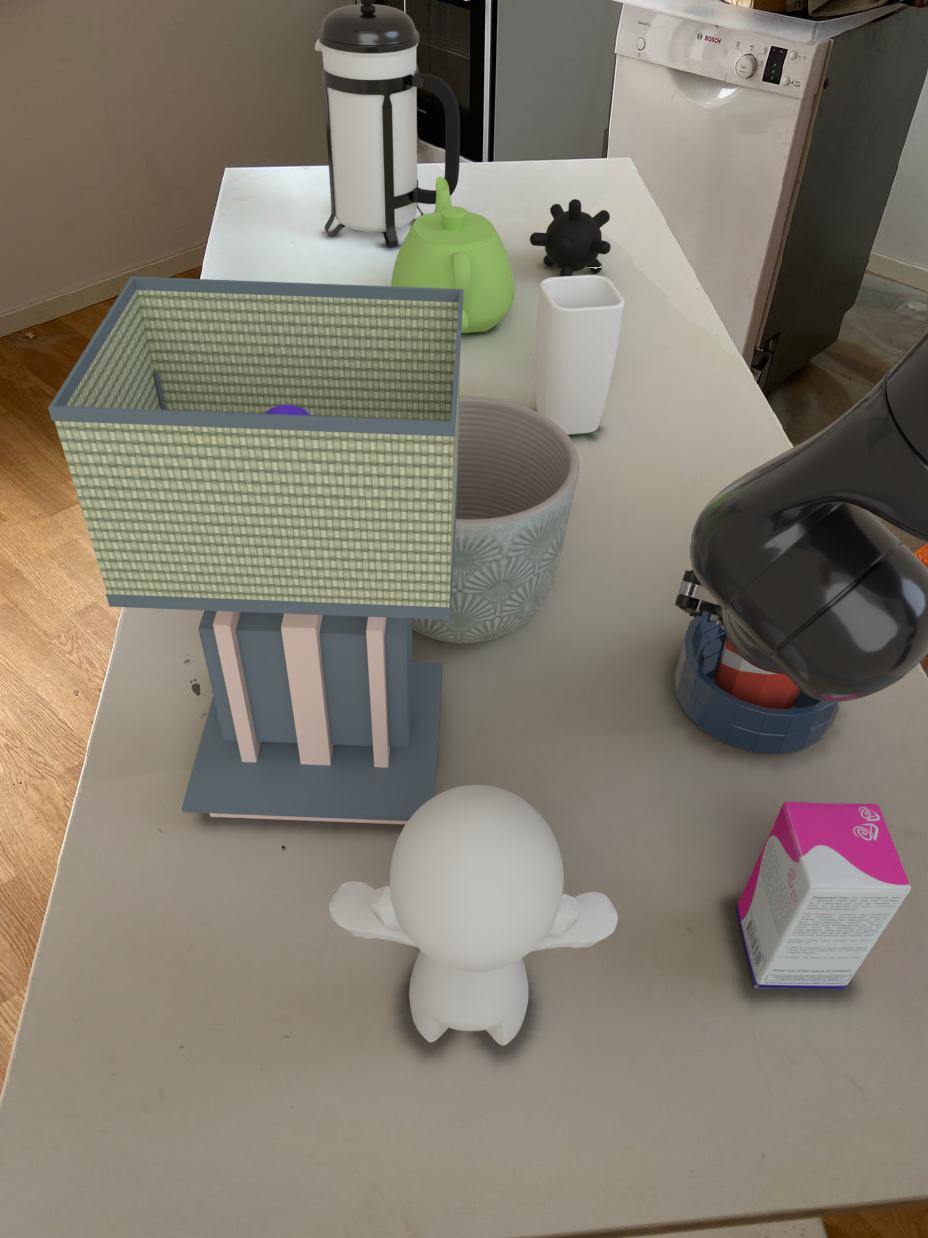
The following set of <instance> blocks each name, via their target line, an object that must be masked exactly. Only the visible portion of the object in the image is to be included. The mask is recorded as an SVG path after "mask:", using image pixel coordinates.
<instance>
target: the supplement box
mask: <svg viewBox="0 0 928 1238" xmlns="http://www.w3.org/2000/svg"><path fill="white" fill-rule="evenodd" d="M911 890H912V886H911V883H910V882H909V879H908V875H907V874H906V872H905V869H904V866H903V863H902V861H901V859H900V856H899V854H898V851H897V849H896V846H895V844H894V841H893V839H892V837H891V833H890V830H889V828H888V826H887V823H886V820H885V818H884V815H883V813H882V810H881V808H880V805H879V804H878V803H877V804H876V803H834V802H833V803H827V802H806V801H805V802H804V801H803V802H802V801H784V802H783V803H782V806H781V807H780V810H779V812H778V814H777V817H776V819H775V821H774V823H773V825H772V828H771V829H770V831H769V834H768V836H767V838H766V840H765V843H764V844H763V847H762V850H761V852H760V854H759V855H758V858H757V860H756V862H755V865H754V866H753V869H752V871H751V873H750V876H749V877H748V880H747V883H746V884H745V886H744V889H743V891H742V893H741V895H740V898H739V899H738V901H737V904H736V905H735V912H736V915H737V920H738V924H739V925H738V926H739V929H740V934H741V938H742V942H743V947H744V951H745V954H746V959H747V963H748V966H749V967H748V968H749V971H750V975H751V980H752V984H753V988H754V989H767V990H771V989H772V990H773V989H775V990H776V989H777V990H778V989H785V990H786V989H787V990H788V989H791V990H793V989H794V990H795V989H797V990H798V989H800V990H844V989H846V988H847V986H848V985H849V983H851V980H852V979H853V978H854V976H855V974H856V973H857V971H858V970H859V968H860V967H861V965H862V964H863V963H864V961H865V960H866V958H867V956H868V955H869V954H870V952H871V950H872V949H873V947H874V946H875V944H876V943H877V941H878V939H879V938H880V937H881V936H882V934H883V932H884V931H885V929H886V928H887V926H888V925H889V923H890V921H892V919H893V917H894V915H895V914H896V913H897V911H898V909H900V907H901V905H902V903H903V902H904V900H905V899H906V898H907V896H908V895H909V893H910V892H911Z"/></svg>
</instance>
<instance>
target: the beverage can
mask: <svg viewBox="0 0 928 1238" xmlns="http://www.w3.org/2000/svg"><path fill="white" fill-rule="evenodd" d="M715 684H716V685H717V686H718V687H719V688H720V689H722V690H724V691H726V692H728V693H729V694H731V695H733V696H735V697H736V698H738V699H740V700H742V701H745V702H749V703H752V704H755V705H758V706H762V707H765V708H777V709H790V708H791V707H793V706H794V705H795V703H796V700H797V698H798V695H799V693H800V689H799V688H798V687H797V686H796V685H795V684H794V683H793V682H792V681H791V680H790V679H789V677H788V676H787V675H786V674H778V673H772V672H768V671H764V670H762V669H759V668H757V667H755V666H753V665H752V664H750V663H748V662H747V661H746V660H744V659H743V658H742V657H741V656H740V655H739V654H738V653H737V652H736V651H735V649H734V648H733V646H732V645H731V643H730V642H729V640H728V638H727V637H726V640H725V644H724V647H723V650H722V654H721V657H720V660H719V664H718V667H717V671H716V678H715Z"/></svg>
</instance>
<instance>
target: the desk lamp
mask: <svg viewBox="0 0 928 1238" xmlns="http://www.w3.org/2000/svg"><path fill="white" fill-rule="evenodd" d="M463 292H464V289H444V288H418V287H392V286H391V285H390V286H388V285H387V286H386V285H365V284H364V285H363V284H339V283H337V284H336V283H310V282H309V283H308V282H287V281H260V280H259V281H258V280H237V279H236V280H234V279H233V280H232V279H211V278H209V279H208V278H206V279H205V278H184V277H183V278H181V277H180V278H179V277H155V276H131V275H130V277H129V279H128V281H127V282H126V284H125V285H124V287H123V289H122V290H121V291H120V293H119V295H118V296H117V298H116V300H115V301H114V303H113V304H112V305H111V307H110V308H109V311H108V312H107V314H106V315H105V316H104V318H103V320H102V321H101V323H100V324H99V326H98V328H97V329H96V331H95V333H94V334H93V336H92V338H91V339H90V341H89V342H88V344H87V346H86V347H85V349H83V351H82V354H81V355H80V357H79V359H78V360H77V361H76V363H75V365H74V366H73V367H72V369H71V371H70V372H69V374H68V376H67V377H66V379H65V380H64V381H63V384H62V385H61V387H60V388H59V389H58V391H57V393H56V395H55V396H54V398H53V399H52V401H51V403H50V405H49V406H48V408H47V409H48V412H49V416H50V419H51V421H52V422H54V425H55V427H56V428H55V429H56V431H57V435H58V437H59V441H60V444H61V448H62V451H63V454H64V457H65V460H66V461H65V462H66V463H67V467H68V470H69V474H70V477H71V480H72V483H73V486H74V489H75V493H76V496H77V499H78V503H79V506H80V509H81V513H82V516H83V519H84V522H85V525H86V529H87V532H88V536H89V538H90V542H91V546H92V548H93V551H94V552H93V553H94V555H95V558H96V562H97V565H98V569H99V571H100V574H101V577H102V581H103V585H104V587H105V591H106V594H105V597H106V601H107V603H108V606H109V608H110V607H111V608H133V609H158V610H159V609H160V610H184V611H185V610H187V611H203V612H202V616H201V619H200V622H199V625H198V628H197V629H198V634H199V638H200V643H201V647H202V651H203V656H204V660H205V665H206V669H207V673H208V679H209V683H210V686H211V690H212V695H213V696H212V699H211V703H210V707H209V710H208V713H207V717H206V721H205V724H204V727H203V731H202V734H201V738H200V742H199V745H198V748H197V752H196V756H195V759H194V763H193V766H192V769H191V773H190V777H189V779H188V783H187V787H186V790H185V794H184V798H183V801H182V805H181V812H182V813H186V814H187V813H189V814H191V813H192V814H209V817H210V818H229V819H230V818H231V819H232V818H233V819H254V820H255V819H256V820H257V819H260V820H283V821H307V822H311V821H312V822H335V823H360V824H383V825H385V824H387V825H406V823H407V822H408V820H409V819H410V818H411V817H412V816H413V814H414V813H415V812H416V811H417V810H418V809H419V808H420V807H421V806H422V805H424V804H425V803H426V802H427V801H429V800H430V799H432V798H433V797H435V796H436V783H437V769H438V768H437V767H438V751H439V734H440V733H439V732H440V718H441V703H442V702H441V701H442V699H441V698H442V683H443V667H444V663H441V662H416V661H413V630H412V618H414V619H439V620H450V618H451V599H452V581H453V563H454V544H455V526H456V508H457V489H458V469H459V462H458V429H459V396H460V390H461V388H460V387H461V385H460V384H461V382H460V381H461V354H462V353H461V351H462V350H461V349H462V333H461V329H462V313H463Z"/></svg>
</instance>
